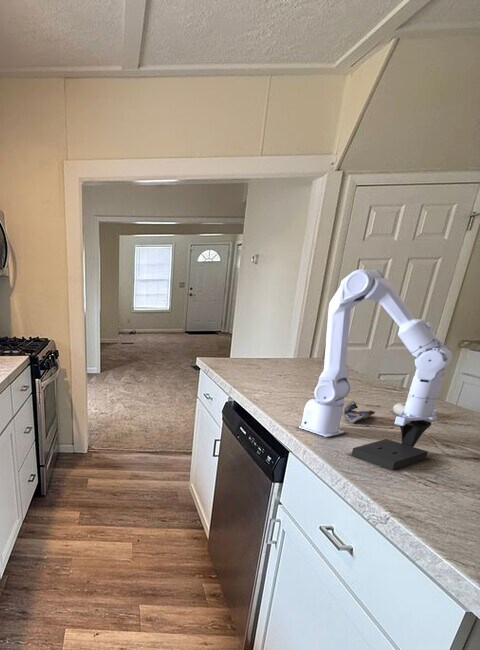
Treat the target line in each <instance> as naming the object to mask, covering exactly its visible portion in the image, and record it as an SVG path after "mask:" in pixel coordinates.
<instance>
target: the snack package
mask: <svg viewBox="0 0 480 650" xmlns="http://www.w3.org/2000/svg"><path fill="white" fill-rule="evenodd" d="M358 408H359V406H357V402H356V401H351V402H349V403H348V404H347V405H346V406H345V407H344V408H343V410H344V412H343V413H344V417H345V418H346V420H347V421H348V422H350V423H351V424H355V422H357V421H360V420H366V419H368V418H370V416H372V415H374V414H375V413H376V411H374V410H361V411H357V410H356V409H358Z"/></svg>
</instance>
